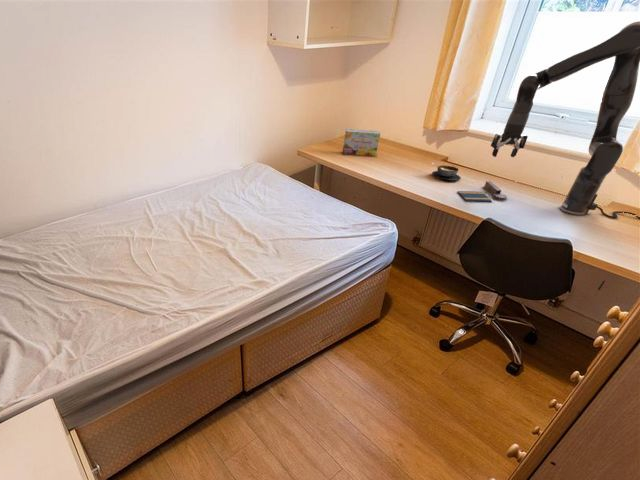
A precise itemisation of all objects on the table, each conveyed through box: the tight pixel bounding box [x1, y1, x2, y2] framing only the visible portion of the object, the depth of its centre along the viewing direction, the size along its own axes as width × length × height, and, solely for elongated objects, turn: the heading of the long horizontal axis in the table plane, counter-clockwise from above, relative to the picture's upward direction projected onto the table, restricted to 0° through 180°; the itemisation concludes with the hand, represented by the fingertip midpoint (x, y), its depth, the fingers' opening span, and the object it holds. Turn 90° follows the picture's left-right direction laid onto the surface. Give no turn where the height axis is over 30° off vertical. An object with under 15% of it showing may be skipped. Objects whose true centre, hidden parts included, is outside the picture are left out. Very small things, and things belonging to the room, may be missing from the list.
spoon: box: [483, 180, 508, 202], centre depth 193 cm, size 17×6×3 cm, turn 175°
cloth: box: [456, 190, 493, 203], centre depth 190 cm, size 12×11×1 cm
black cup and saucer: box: [431, 162, 462, 181], centre depth 211 cm, size 15×16×7 cm
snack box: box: [342, 128, 381, 158], centre depth 243 cm, size 21×6×15 cm, turn 75°
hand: (503, 156), depth 185 cm, fingers open, 8 cm apart
